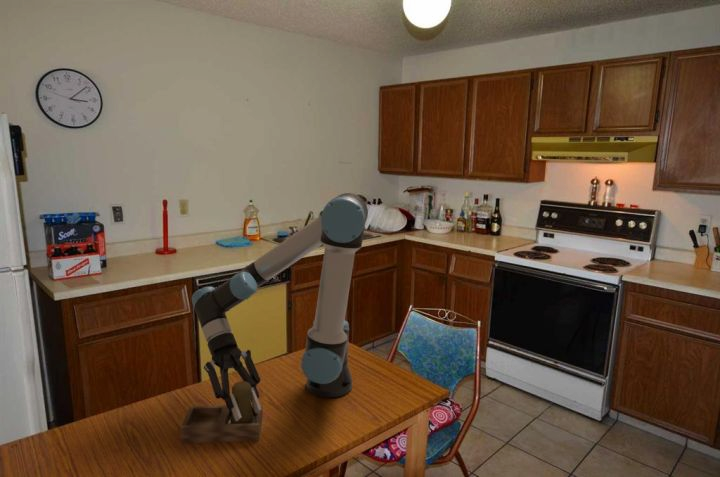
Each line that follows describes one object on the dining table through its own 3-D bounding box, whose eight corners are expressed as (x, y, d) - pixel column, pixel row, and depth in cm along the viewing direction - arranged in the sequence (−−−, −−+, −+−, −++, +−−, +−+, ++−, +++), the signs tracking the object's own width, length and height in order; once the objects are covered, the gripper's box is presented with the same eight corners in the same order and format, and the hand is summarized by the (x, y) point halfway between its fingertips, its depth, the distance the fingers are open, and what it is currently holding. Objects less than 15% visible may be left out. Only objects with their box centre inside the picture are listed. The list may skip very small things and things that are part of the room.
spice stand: (262, 418, 130) (262, 404, 130) (259, 440, 121) (258, 425, 120) (190, 421, 128) (190, 406, 127) (181, 443, 118) (180, 427, 118)
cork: (247, 428, 121) (247, 390, 119) (226, 425, 122) (226, 387, 120) (257, 416, 127) (256, 379, 125) (237, 412, 128) (236, 377, 126)
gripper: (244, 335, 138) (273, 408, 130) (184, 351, 126) (212, 432, 118) (252, 324, 134) (283, 398, 125) (192, 340, 121) (221, 423, 113)
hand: (248, 415), depth 121 cm, fingers closed on cork, 5 cm apart
